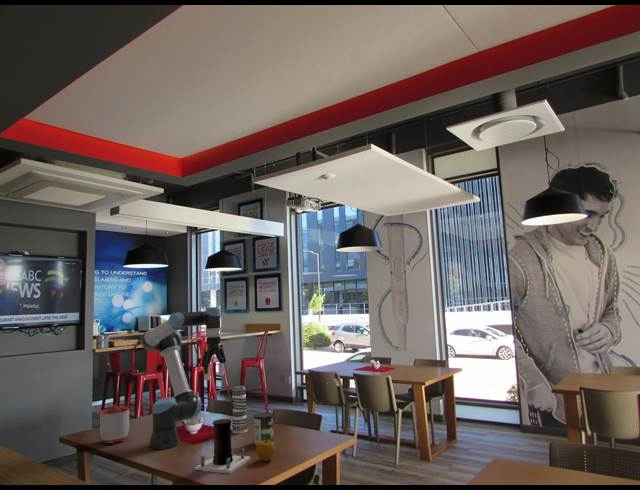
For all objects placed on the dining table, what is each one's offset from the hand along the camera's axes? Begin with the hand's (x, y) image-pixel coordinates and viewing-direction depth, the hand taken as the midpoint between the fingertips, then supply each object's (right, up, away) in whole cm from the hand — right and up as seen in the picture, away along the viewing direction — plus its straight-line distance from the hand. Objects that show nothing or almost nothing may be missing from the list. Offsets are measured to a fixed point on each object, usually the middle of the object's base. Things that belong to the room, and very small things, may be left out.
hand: (214, 377), depth 243 cm
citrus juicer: (-60, -40, +17) cm, 74 cm away
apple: (+30, -30, -29) cm, 51 cm away
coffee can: (+26, -34, -1) cm, 43 cm away
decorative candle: (+9, -38, +24) cm, 45 cm away
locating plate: (+11, -31, -32) cm, 45 cm away
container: (+11, -30, -31) cm, 45 cm away
